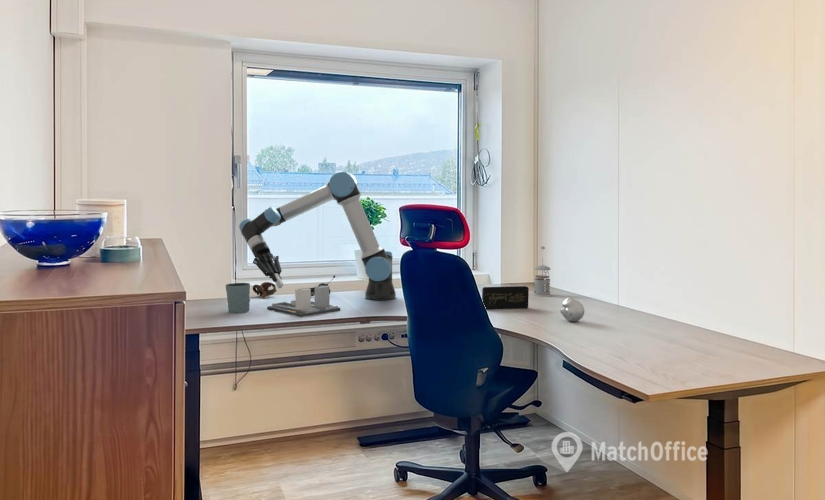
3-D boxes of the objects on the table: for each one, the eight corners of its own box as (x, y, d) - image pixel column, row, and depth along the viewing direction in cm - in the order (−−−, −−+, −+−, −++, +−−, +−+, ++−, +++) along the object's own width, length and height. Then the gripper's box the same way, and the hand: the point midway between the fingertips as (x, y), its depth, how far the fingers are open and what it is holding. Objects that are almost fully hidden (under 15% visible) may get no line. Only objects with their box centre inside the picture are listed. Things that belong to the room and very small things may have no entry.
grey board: (267, 309, 263) (267, 304, 263) (306, 303, 278) (306, 298, 278) (300, 317, 246) (300, 311, 246) (340, 310, 261) (340, 305, 261)
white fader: (295, 309, 254) (295, 288, 254) (305, 308, 258) (305, 287, 257) (301, 311, 252) (300, 289, 251) (310, 309, 255) (310, 288, 254)
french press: (529, 295, 304) (530, 246, 302) (538, 292, 313) (539, 245, 311) (547, 297, 298) (548, 247, 296) (556, 294, 308) (557, 246, 306)
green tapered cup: (249, 313, 254) (248, 285, 253) (224, 314, 252) (223, 286, 251) (251, 309, 264) (251, 282, 263) (227, 309, 262) (227, 282, 261)
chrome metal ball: (558, 319, 244) (558, 294, 243) (581, 319, 243) (582, 295, 242) (561, 323, 235) (562, 298, 234) (586, 324, 234) (586, 299, 233)
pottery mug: (276, 295, 304) (279, 282, 300) (272, 306, 296) (274, 293, 292) (253, 289, 303) (255, 277, 298) (248, 300, 295) (250, 287, 290)
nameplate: (483, 310, 264) (483, 287, 263) (482, 309, 266) (482, 287, 265) (528, 308, 268) (528, 286, 267) (526, 307, 269) (527, 286, 269)
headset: (335, 276, 297) (295, 282, 293) (338, 295, 298) (297, 301, 294) (334, 273, 310) (295, 278, 306) (336, 291, 311) (297, 296, 308)
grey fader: (314, 307, 261) (314, 286, 261) (323, 305, 265) (323, 285, 264) (320, 308, 259) (320, 287, 258) (329, 306, 262) (329, 285, 262)
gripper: (268, 251, 282) (290, 289, 272) (243, 253, 273) (265, 293, 262) (274, 240, 278) (296, 279, 268) (249, 242, 268) (271, 282, 258)
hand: (281, 286), depth 265 cm, fingers closed
